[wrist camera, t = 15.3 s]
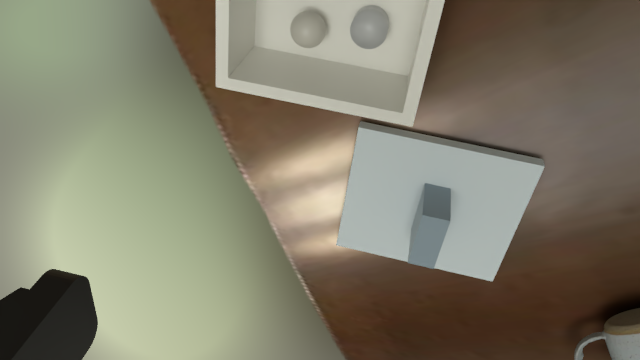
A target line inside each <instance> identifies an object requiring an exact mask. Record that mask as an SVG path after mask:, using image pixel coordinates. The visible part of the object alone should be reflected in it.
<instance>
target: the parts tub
mask: <svg viewBox="0 0 640 360" xmlns="http://www.w3.org/2000/svg"><path fill="white" fill-rule="evenodd" d="M444 2H445V0H216V87H219V88H223V89H228V90H233V91H238V92H243V93H248V94H253V95H258V96H263V97H268V98H272V99H277V100H282V101H287V102H292V103H297V104H302V105H307V106H312V107H317V108H322V109H326V110H331V111H336V112H341V113H346V114H351V115H356V116H361V117H366V118H371V119H375V120H380V121H385V122H390V123H395V124H400V125H405V126H410V127H413V123H414V119H415V115H416V111H417V108H418V104H419V100H420V96H421V92H422V88H423V84H424V80H425V76H426V72H427V68H428V64H429V60H430V57H431V53H432V49H433V45H434V41H435V37H436V33H437V29H438V25H439V21H440V17H441V13H442V10H443V6H444Z"/></svg>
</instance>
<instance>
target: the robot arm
mask: <svg viewBox="0 0 640 360" xmlns="http://www.w3.org/2000/svg"><path fill="white" fill-rule="evenodd" d="M97 325H98V322H97V315H96V311H95V306H94V302H93V297H92V293H91V288H90V284H89V280H88V279H87V278H86V277H84V276H81V275H76V274H72V273H68V272H64V271H60V270H56V269H52V270H49V271H47V272H46V273H44V274H43V275H42V276H41V278H40V279H39V280H38V281H37V282H36V283H35V284H34V285H33V287H32V288H31V289H30V290H29V289H25V288H19V289H17V290H16V291H14V292H13V293H11V294H9V295H8V296H6V297H5V298H3V299H1V300H0V360H82V358H83V357H84V355H85V354H86V352H87V351H88V349H89V348H90V346H91V344H92V342H93V340H94V338H95V334H96V331H97Z"/></svg>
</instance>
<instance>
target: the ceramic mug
mask: <svg viewBox="0 0 640 360" xmlns="http://www.w3.org/2000/svg"><path fill="white" fill-rule="evenodd" d="M599 339H605V341H606V344H607V347H608V350H609V353H610V356H611V357H612V360H640V308H636V309H632V310H628V311H625V312H622V313H619V314H617V315H614V316H612V317H611V318H609V319H608V320H607V321H606V323H605V324H604V331H603V332H598V333H593V334H591V335H589V336H587V337H585V338H583V339H582V340H581V341H580V342H579V343H578V345H577V347H576V349H575V355H574V357H575V360H583V356H584V355H583V353H582V351H583V348H584V346H586V345H587V344H588V343H590V342H592V341H595V340H599Z"/></svg>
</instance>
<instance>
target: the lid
mask: <svg viewBox="0 0 640 360" xmlns="http://www.w3.org/2000/svg"><path fill="white" fill-rule="evenodd" d="M544 167H545V165H544V161H543V159H539V158H534V157H530V156H525V155H520V154H515V153H511V152H506V151H501V150H496V149H491V148H487V147H482V146H477V145H472V144H468V143H463V142H458V141H453V140H448V139H444V138H439V137H434V136H429V135H424V134H420V133H415V132H410V131H405V130H401V129H396V128H391V127H386V126H381V125H377V124H372V123H367V122H362V121H360V124H359V128H358V133H357V138H356V144H355V149H354V154H353V160H352V165H351V170H350V175H349V181H348V186H347V191H346V196H345V202H344V207H343V212H342V218H341V223H340V228H339V233H338V239H337V244H336V245H338V246H342V247H346V248H351V249H355V250H359V251H364V252H368V253H372V254H376V255H381V256H385V257H389V258H394V259H398V260H402V261H406V262H408V263H411V264H415V265H419V266H424V267H428V268H432V269H434V268H437V269H441V270H445V271H449V272H454V273H458V274H462V275H467V276H471V277H475V278H480V279H484V280H488V281H492V282H493V280H494V277H495V275H496V273H497V271H498V269H499V266H500V264H501V262H502V260H503V257H504V255H505V253H506V251H507V249H508V246H509V244H510V242H511V240H512V238H513V235H514V233H515V231H516V229H517V227H518V224H519V222H520V220H521V218H522V216H523V213H524V211H525V209H526V207H527V205H528V202H529V200H530V198H531V196H532V194H533V191H534V189H535V187H536V185H537V183H538V180H539V178H540V176H541V174H542V172H543V169H544Z"/></svg>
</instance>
